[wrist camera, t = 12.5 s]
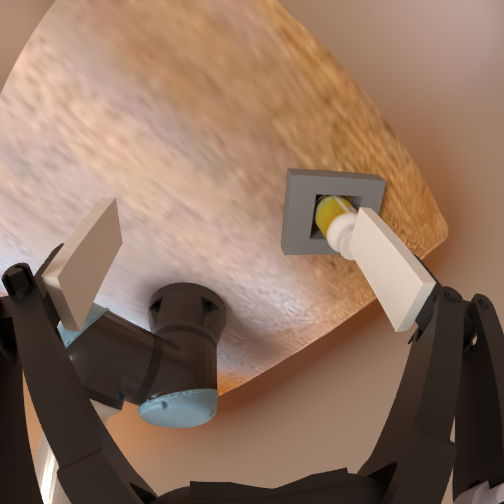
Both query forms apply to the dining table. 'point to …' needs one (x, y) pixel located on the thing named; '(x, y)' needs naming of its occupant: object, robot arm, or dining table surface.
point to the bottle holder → (303, 201)
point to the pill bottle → (336, 222)
